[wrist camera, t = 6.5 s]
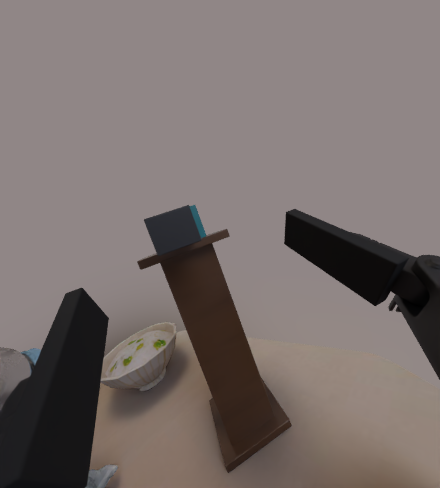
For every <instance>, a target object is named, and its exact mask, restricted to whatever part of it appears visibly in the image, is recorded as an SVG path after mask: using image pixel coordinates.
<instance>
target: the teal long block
mask: <svg viewBox="0 0 440 488" xmlns="http://www.w3.org/2000/svg"><path fill="white" fill-rule="evenodd" d="M144 221H145V224H146V227H147V229H148V232H149V234H150V237H151V240H152V242H153V244H154V247H155V249H156V252H157V255H158V256H161V255H164V254H166V253H169V252H172V251H175V250H177V249H180V248H183V247H186V246H188V245H191V244H194V243H197V242H199V241H202V239H201V238H203V237H206V234H205V231H204V228H203V225H202V223H201V220H200V217H199V214H198V211H197V209H196V206H195V205H193V206H189V205H187V206H184V207H181V208H178V209H175V210H172V211H169V212H166V213H163V214H160V215H156V216H153V217H150V218H147V219H144Z"/></svg>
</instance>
